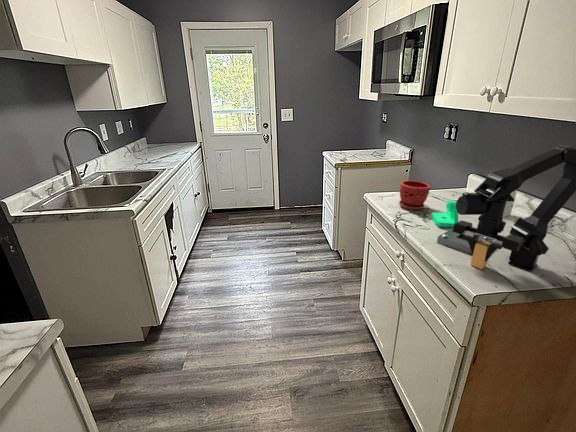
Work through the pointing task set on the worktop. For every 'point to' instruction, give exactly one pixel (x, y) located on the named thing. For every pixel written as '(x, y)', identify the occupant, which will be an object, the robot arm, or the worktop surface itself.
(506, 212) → the skincare box
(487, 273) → the worktop surface
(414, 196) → the plant pot
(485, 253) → the tan square peg
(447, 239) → the grey square hole plate
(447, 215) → the camera mount
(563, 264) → the worktop surface
